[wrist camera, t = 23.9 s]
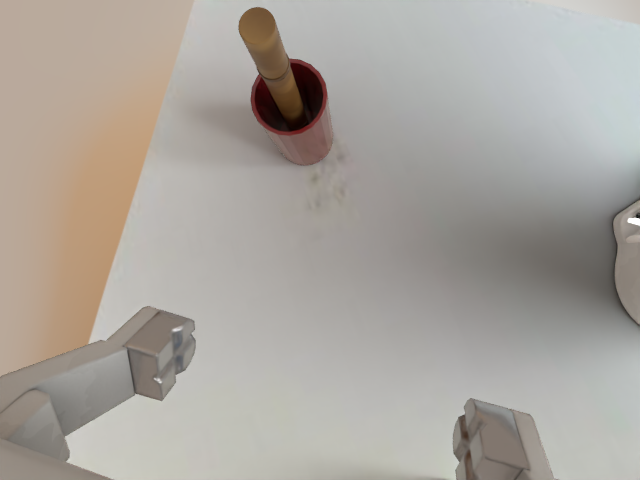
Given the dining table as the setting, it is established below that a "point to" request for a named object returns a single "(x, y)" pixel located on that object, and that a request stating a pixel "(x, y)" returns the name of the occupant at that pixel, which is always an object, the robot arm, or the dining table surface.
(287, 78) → the tan rod with ring
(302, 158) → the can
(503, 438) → the robot arm
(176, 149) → the dining table surface
